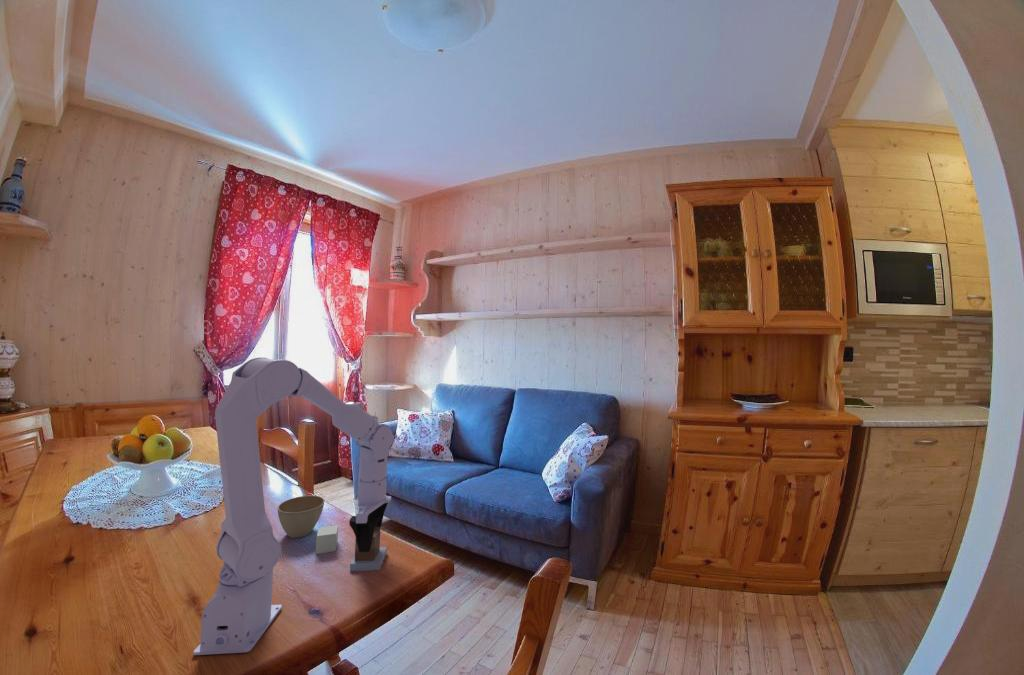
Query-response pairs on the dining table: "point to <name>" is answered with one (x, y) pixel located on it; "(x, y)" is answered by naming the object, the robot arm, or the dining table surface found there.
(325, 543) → the sage block
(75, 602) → the dining table surface
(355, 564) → the slate slab
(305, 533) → the flower pot
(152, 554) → the dining table surface
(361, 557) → the walnut block
